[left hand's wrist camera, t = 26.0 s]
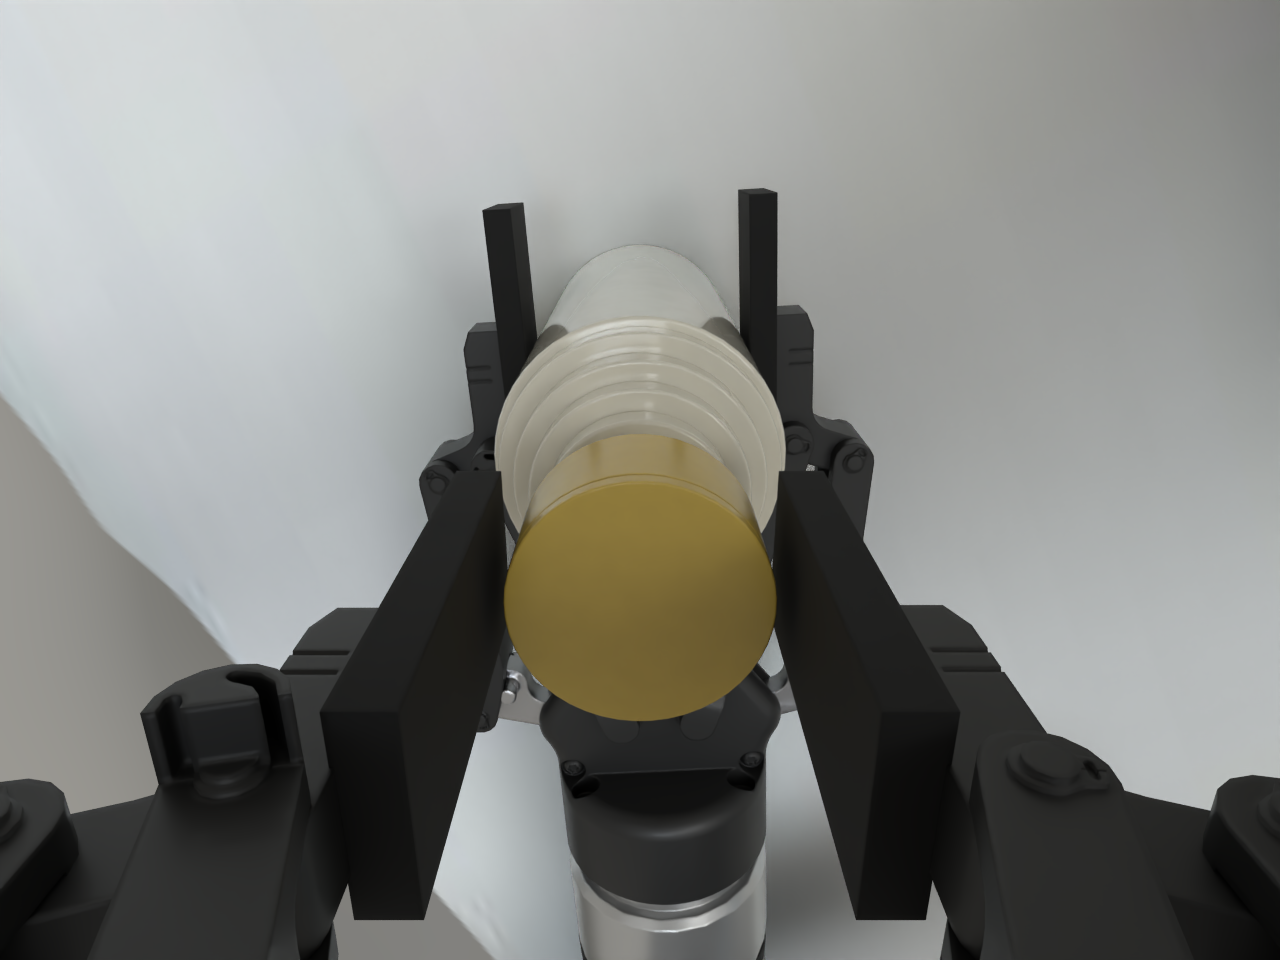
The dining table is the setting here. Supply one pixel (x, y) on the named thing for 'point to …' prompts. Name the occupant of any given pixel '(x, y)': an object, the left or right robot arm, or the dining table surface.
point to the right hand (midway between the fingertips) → (629, 200)
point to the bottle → (640, 378)
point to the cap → (640, 580)
